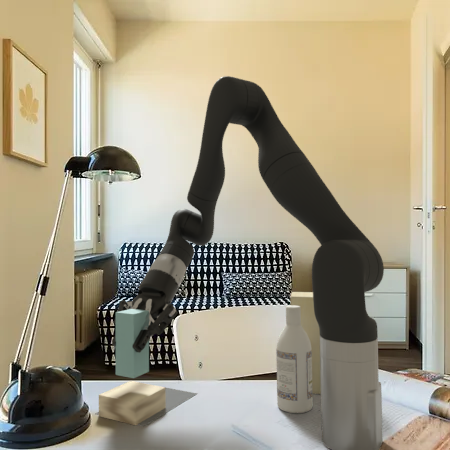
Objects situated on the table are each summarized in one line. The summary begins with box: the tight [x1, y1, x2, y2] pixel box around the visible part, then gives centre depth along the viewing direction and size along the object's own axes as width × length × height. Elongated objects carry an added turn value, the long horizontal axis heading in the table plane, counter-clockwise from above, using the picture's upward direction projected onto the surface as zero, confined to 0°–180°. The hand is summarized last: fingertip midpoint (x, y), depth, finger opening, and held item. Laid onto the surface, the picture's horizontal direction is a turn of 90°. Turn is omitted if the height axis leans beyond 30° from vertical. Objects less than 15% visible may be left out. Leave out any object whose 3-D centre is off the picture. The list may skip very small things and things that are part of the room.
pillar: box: [115, 309, 150, 379], centre depth 83 cm, size 4×4×12 cm
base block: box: [98, 380, 166, 426], centre depth 83 cm, size 9×9×4 cm
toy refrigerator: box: [289, 291, 321, 395], centre depth 96 cm, size 8×7×21 cm
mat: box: [94, 386, 198, 427], centre depth 87 cm, size 12×18×1 cm, turn 152°
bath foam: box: [275, 305, 314, 414], centre depth 85 cm, size 7×7×20 cm
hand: (125, 348), depth 81 cm, fingers closed on pillar, 4 cm apart
